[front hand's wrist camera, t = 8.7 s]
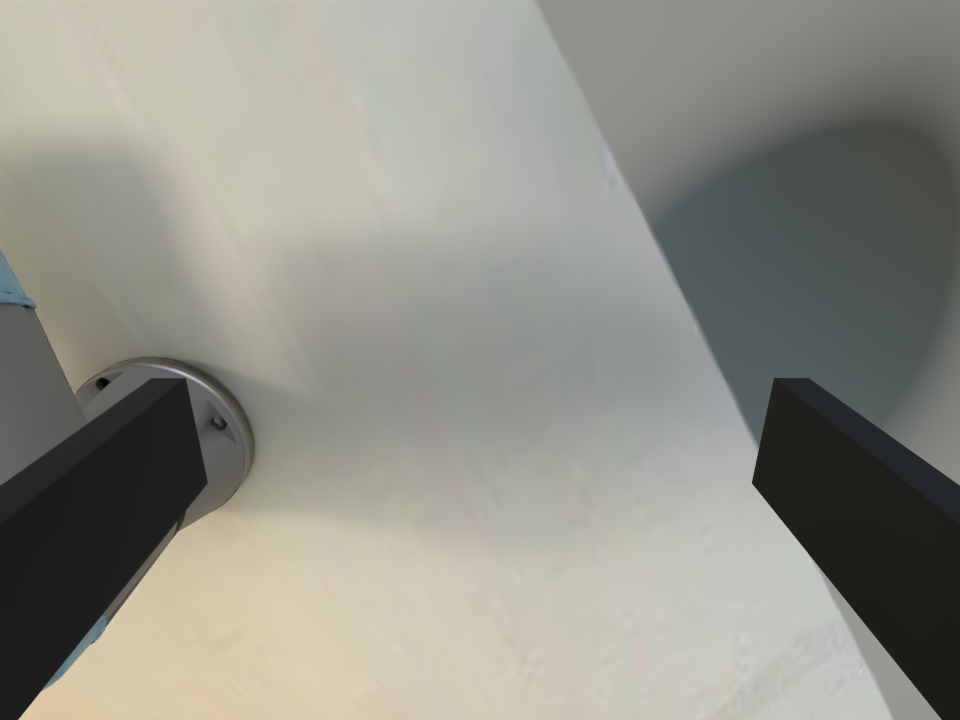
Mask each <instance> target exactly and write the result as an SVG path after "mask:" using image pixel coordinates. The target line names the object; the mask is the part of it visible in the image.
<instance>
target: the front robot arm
mask: <svg viewBox="0 0 960 720" xmlns="http://www.w3.org/2000/svg"><path fill="white" fill-rule="evenodd" d="M35 308H36V305H35V303H34V301H33V300H31V299H30V298H28V297H27V296H26V294H25V293H24V291H23V289H22V287H21V286H20V284H19V282H18V280H17V278H16V276H15V275H14V273H13V271H12V269H11V267H10V266H9V264H8V262H7V260H6V258H5V256H4V255H3V253H2V252H1V251H0V720H18V719H19V718H20V717H21V715H22V714H23V713H24V712H25V710H26V709H27V708H28V707H29V706H30V704H31V703H32V702H33V701H34V699H35V698H36V697H37V696H38V694H39V693H40V692H41V691H42V690H44V689H46V688H47V687H49V686H50V685H52V684H53V683H54V682H56V681H57V680H58V679H59V678H60V677H61V676H62V675H63V674H64V673H65V672H66V671H67V670H68V669H69V668H70V667H71V665H72V664H73V663H74V662H75V661H76V660H77V659H78V657H79V656H80V655H81V654H82V653H83V652H84V651H85V650H86V648H87V647H88V646H89V645H90V644H92V643H94V642H95V641H96V640H97V639H98V638H100V637H101V635H102V633H103V631H105V628H106V626H107V625H108V624H109V622H110V621H111V620H112V618H113V617H114V616H115V614H116V613H117V612H118V610H119V609H120V608H121V606H122V605H123V604H124V602H125V601H126V600H127V598H128V597H129V596H130V594H131V593H132V592H133V590H134V589H135V588H136V586H137V585H138V584H139V582H140V581H141V580H142V578H143V577H144V576H145V574H146V573H147V572H148V570H149V569H150V568H151V566H152V565H153V564H154V562H155V561H156V560H157V558H158V557H159V556H160V554H161V553H162V552H163V550H164V549H165V548H166V546H167V545H168V544H169V542H170V541H171V540H172V538H173V537H174V536H175V535H176V533H177V532H178V531H180V530H181V529H183V528H185V527H187V526H188V525H190V524H192V523H193V522H195V521H197V520H198V519H200V518H202V517H203V516H205V515H206V514H208V513H210V512H212V511H214V510H215V509H217V508H219V507H220V506H222V505H223V504H224V503H226V502H227V501H228V500H229V499H230V498H231V497H232V496H233V494H234V493H235V492H236V490H237V489H238V487H239V486H240V485H241V483H242V482H243V480H244V479H245V477H246V476H247V474H248V472H249V469H250V467H251V464H252V459H253V451H254V443H253V436H252V431H251V428H250V425H249V422H248V420H247V417H246V415H245V413H244V412H243V410H242V408H241V407H240V405H239V404H238V402H237V401H236V400H235V398H234V397H233V396H232V395H231V394H230V393H229V392H228V391H227V390H226V389H225V388H224V387H223V386H222V385H221V384H220V383H218V382H217V381H216V380H214V379H213V378H212V377H210V376H209V375H207V374H205V373H204V372H202V371H200V370H198V369H196V368H194V367H192V366H189V365H187V364H184V363H181V362H178V361H174V360H169V359H164V358H153V357H145V358H135V359H129V360H125V361H122V362H119V363H117V364H114V365H112V366H110V367H108V368H107V369H105V370H103V371H102V372H100V373H98V374H97V375H95V376H94V377H92V378H91V379H89V380H88V381H87V382H85V383H84V384H83V385H82V386H81V387H80V388H79V390H78V391H77V392H76V394H75V395H74V394H73V391H72V389H71V387H70V385H69V383H68V381H67V379H66V376H65V374H64V372H63V370H62V368H61V366H60V364H59V361H58V359H57V357H56V355H55V353H54V351H53V349H52V346H51V344H50V342H49V340H48V338H47V336H46V334H45V331H44V329H43V327H42V325H41V323H40V321H39V319H38V316H37V314H36V312H35V310H34V309H35ZM752 484H753V485H754V486H755V488H756V489H757V490H758V491H759V493H760V494H761V495H762V496H763V498H764V499H765V500H766V501H767V503H768V504H769V505H770V506H771V508H772V509H773V510H774V511H775V513H776V514H777V515H778V516H779V518H780V519H781V520H782V521H783V523H784V524H785V525H786V526H787V527H788V529H789V530H790V531H791V532H792V534H793V535H794V536H795V537H796V539H797V540H798V541H799V542H800V544H801V545H802V546H803V547H804V549H805V550H806V551H807V552H808V554H809V555H810V556H811V557H812V559H813V560H814V561H815V562H816V564H817V565H818V566H819V567H820V569H821V570H822V571H823V572H824V574H825V575H826V576H827V577H828V578H829V580H830V581H831V582H832V583H833V585H834V586H835V587H836V588H837V590H838V591H839V592H840V593H841V595H842V596H843V597H844V598H845V600H846V601H847V602H848V603H849V605H850V606H851V607H852V608H853V610H854V611H855V612H856V613H857V615H858V616H859V617H860V618H861V620H862V621H863V622H864V623H865V625H866V626H867V627H868V628H869V630H870V631H871V632H872V633H873V635H874V636H875V637H876V638H877V640H878V641H879V642H880V643H881V645H882V646H883V647H884V648H885V649H886V651H887V652H888V653H889V654H890V656H891V657H892V658H893V659H894V661H895V662H896V663H897V664H898V666H899V667H900V668H901V669H902V671H903V672H904V673H905V674H906V676H907V677H908V678H909V679H910V681H911V682H912V683H913V684H914V686H915V687H916V688H917V689H918V691H919V692H920V693H921V694H922V696H923V697H924V698H925V699H926V700H927V702H928V703H929V704H930V706H931V707H932V708H933V709H934V710H935V712H936V713H937V714H938V715H939V717H940V718H941V719H942V720H960V486H959V485H958V484H957V483H955V482H954V481H952V480H951V479H950V478H948V477H947V476H945V475H944V474H943V473H941V472H940V471H938V470H937V469H935V468H934V467H933V466H931V465H930V464H928V463H927V462H926V461H924V460H923V459H922V458H920V457H919V456H917V455H916V454H914V453H913V452H912V451H910V450H909V449H907V448H906V447H905V446H903V445H902V444H900V443H899V442H898V441H896V440H895V439H893V438H892V437H891V436H889V435H888V434H886V433H885V432H884V431H882V430H881V429H879V428H878V427H876V426H875V425H874V424H872V423H871V422H869V421H868V420H867V419H865V418H864V417H862V416H861V415H860V414H858V413H857V412H855V411H854V410H852V409H851V408H850V407H848V406H847V405H846V404H844V403H843V402H841V401H840V400H838V399H837V398H836V397H834V396H833V395H831V394H830V393H829V392H827V391H826V390H824V389H823V388H822V387H820V386H819V385H817V384H816V383H815V382H813V381H812V380H810V379H809V378H774V381H773V386H772V390H771V395H770V400H769V404H768V409H767V414H766V419H765V423H764V428H763V433H762V438H761V442H760V447H759V452H758V456H757V461H756V466H755V470H754V475H753V480H752Z"/></svg>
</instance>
